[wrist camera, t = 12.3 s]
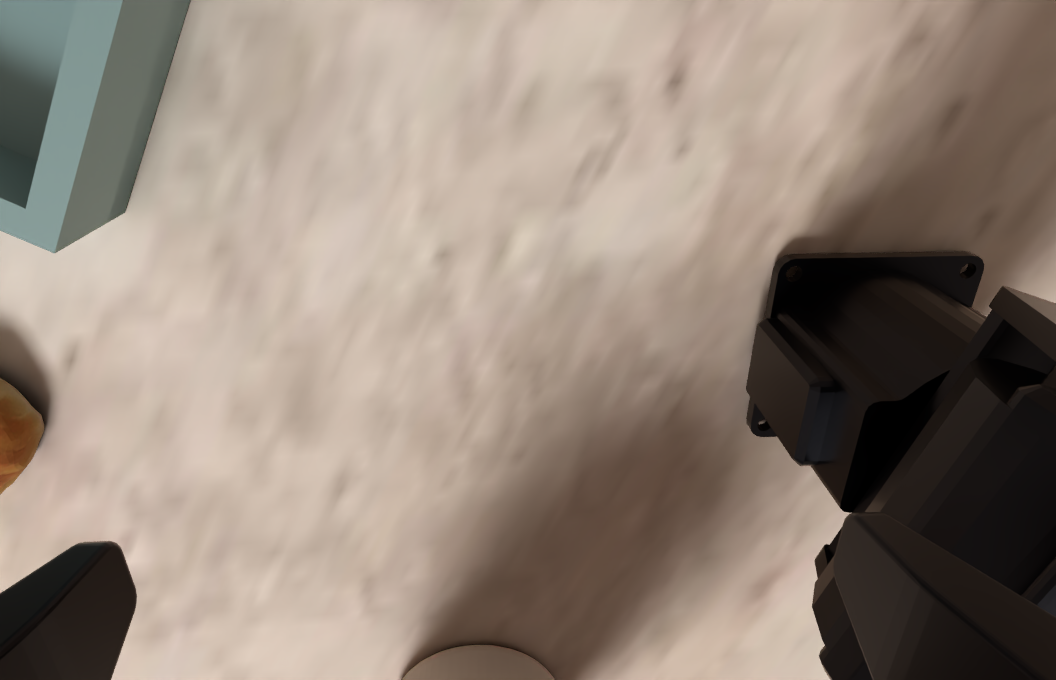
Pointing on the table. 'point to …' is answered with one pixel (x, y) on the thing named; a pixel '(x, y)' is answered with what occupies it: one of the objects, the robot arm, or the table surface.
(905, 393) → the robot arm
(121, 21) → the tray
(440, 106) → the table surface
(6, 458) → the pastry
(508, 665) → the coffee cup
